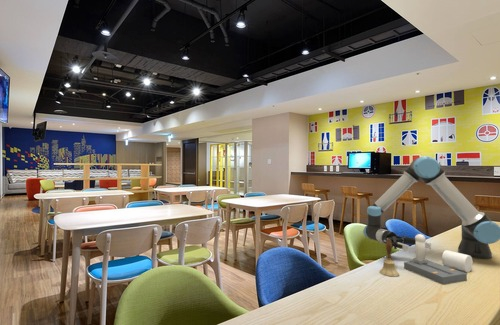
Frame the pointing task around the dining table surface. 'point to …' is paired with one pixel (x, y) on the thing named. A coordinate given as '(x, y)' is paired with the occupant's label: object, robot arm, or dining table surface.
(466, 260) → the mug
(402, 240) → the robot arm
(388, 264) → the hand bell
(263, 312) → the dining table surface
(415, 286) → the dining table surface
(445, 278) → the console
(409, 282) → the dining table surface
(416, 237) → the lever
